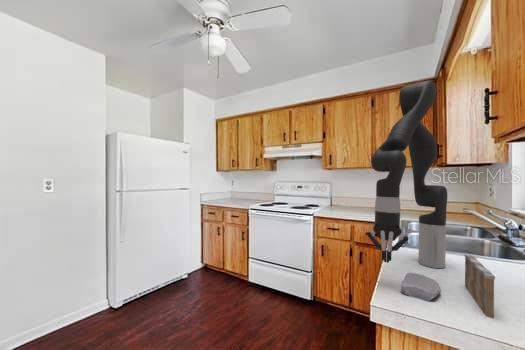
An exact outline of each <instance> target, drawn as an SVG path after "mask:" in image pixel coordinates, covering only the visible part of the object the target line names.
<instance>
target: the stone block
mask: <svg viewBox="0 0 525 350" xmlns="http://www.w3.org/2000/svg"><path fill="white" fill-rule="evenodd" d="M400 287H401V289H400V290H401V293H403V295H404V296H409V297H411V298H417V299H419V300H423V301H426V302H430V301H432V300H433V299H435V298H436V297H437V296H438V295H440V293H441V292H442V289H441V286H440V284H439V282H438V281H436V280H435V279H433V278H431V277H428V276H426V275H423V274H420V273H418V272H417V273H416V272H415V273H414V272H407V273H406V274H405V276H404V278H403V281H401V286H400Z"/></svg>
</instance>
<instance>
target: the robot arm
mask: <svg viewBox="0 0 525 350" xmlns="http://www.w3.org/2000/svg"><path fill="white" fill-rule="evenodd" d="M437 93H438V92H437V87H436V84H435V83H434V82H433V81H432V80H424V81H421V82H420V81H419V82H415V83H412V84H408V85H404V86H402V88H400V90H399V93H398V94H399V96H398V98H399V99H398V100H399V105H400V109H401V114H402V116H401V118H399V119H398V120H397V122H395V123H394V125H393V126H392V128H391V129H390V132H389V133H388V136H387V138H386V140H385V141H384V142H383V143H382V144H381V145H380V146H379V147H378V148H377V149H376V150H375V151H374V153H373V156H372V157H371V160H370V161H371V162H370V163H371V168H372V169H373V170H374V171H376V172H378V173H388V174H387V176H386V177H385V178H380V179H378V180H377V181H376V185H375V186H376V187H375V188H376V189H375V191H376V193H375V201H374V225H373V227H372V229H371V230H369V231H366V236H367V237H368V238H369V240H370V241H371V242H372V243H373V246H375V247H376V248H377V249H379V250H381V260H382V261H383V262H384V263H390V262H391V261H392V253H393V252H394V251H396V252H397V251H398V250H399V249H400V248H401V247H403V246H404V244H406V243H407V242H408V241H409V236H407V235H406V234H405V233H403V232H402V229H401V199H400V192H401V191H400V190H401V182H402V178H403V176H404V173H405V171H406V167H407V157H406V155H405V153H404V151H406V149H407V148H408V152H409V153H408V154H409V158H410V162H411V164H410V165H411V169H412V175H413V193H414V194H413V195H414V201H415V203H416V204H417V206H419V207H426V208H427V207H428V208H434V211H432V212H430V213H425V214H420V215H419V216H418V256H417V258H418V259H417V260H418V261H417V262H418V263H419V264H420V265H422V266H424V267H429V268H431V269H432V268H434V269H444V268H446V250H447V249H446V248H447V247H446V245H447V244H446V242H447V241H446V240H447V239H446V238H447V237H446V236H447V235H446V234H447V229H446V228H447V208H448V207H447V206H448V205H447V204H448V189H447V188H446V187H445V186H444V185H437V184H436V185H433V184H431V185H430V184H426V183H425V182H426V181H425V178H426V176H427V173H428V171H429V169H431V167H432V166H433V164H434V163H435V161H436V159H437V157H438V149H437V141H436V140H437V139H436V137H435V136H434V135H433V134H432V132H431V131H430V130H429V129H428V128H427V127H426V126H425V125H424V124H423V123H422V122H421V121H422V120H423V119H424V117H425V116H426V115H427V113H428V112H429V111H430V109H431V107H432V106H433V105H434V103H435V101H436V98H437ZM375 234H376V236H377V238H379V240H380V243H379V241H378V240H377V238H376V237H375ZM398 237H399V240H398V241H397V242H396V243H395V244H394V245H393V242H394V241H395V240H396V239H397V238H398ZM386 241H387V245H386Z"/></svg>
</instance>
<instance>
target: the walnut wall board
mask: <svg viewBox="0 0 525 350" xmlns="http://www.w3.org/2000/svg"><path fill="white" fill-rule="evenodd" d="M464 259H465V261H464V287H465V288H466V289H467V291H468V292H469V293H470V295H471V297H472V298H473V300H474V301H475V302H476V304H477V305H478V307H479V308H480V310H481V311H482V312H483V314H484V315H485V317H488V318H492V319H493V318H494V316H495V315H494V314H495V313H494V312H495V311H494V310H495V280H496V276H495V275H494V274H493V273H492V272H491V271H490V270H488V268H487V267H485V266H484V264H482V262H480V260H478V259H477V258H476V257H474V255H473V254H472V253H470V254H469V253H464Z"/></svg>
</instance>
